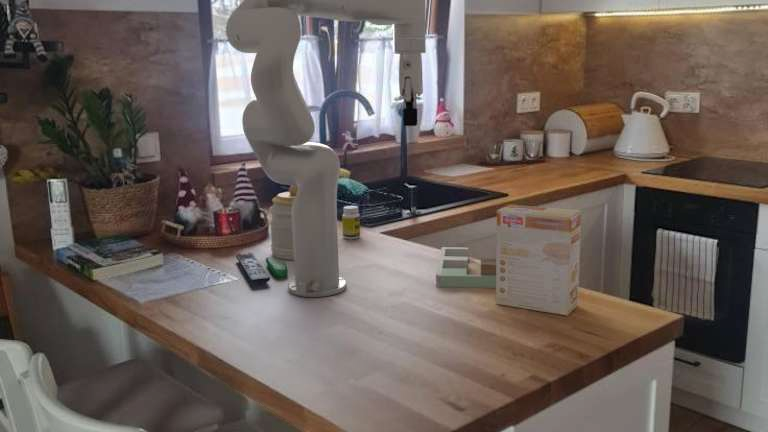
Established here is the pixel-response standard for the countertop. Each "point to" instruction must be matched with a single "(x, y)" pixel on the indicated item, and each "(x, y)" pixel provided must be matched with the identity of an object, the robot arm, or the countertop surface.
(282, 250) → the jar
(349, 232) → the supplement bottle
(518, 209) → the coffeecake box
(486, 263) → the block
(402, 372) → the countertop surface
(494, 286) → the trap box
